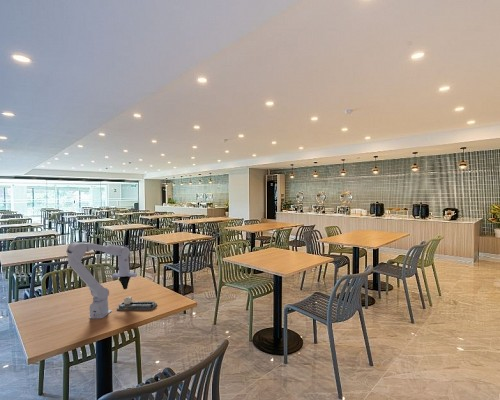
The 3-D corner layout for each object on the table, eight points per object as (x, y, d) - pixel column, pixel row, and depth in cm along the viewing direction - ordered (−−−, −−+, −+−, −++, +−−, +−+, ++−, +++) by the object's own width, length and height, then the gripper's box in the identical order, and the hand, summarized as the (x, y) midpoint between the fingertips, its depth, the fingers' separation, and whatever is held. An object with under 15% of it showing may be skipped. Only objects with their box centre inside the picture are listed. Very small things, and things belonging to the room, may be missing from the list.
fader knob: (128, 306, 163) (128, 299, 163) (124, 306, 164) (123, 299, 163) (132, 304, 167) (131, 296, 167) (127, 304, 167) (127, 296, 167)
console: (151, 310, 160) (151, 306, 160) (116, 310, 162) (116, 306, 162) (157, 305, 168) (157, 300, 168) (123, 305, 170) (123, 300, 170)
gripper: (138, 264, 172) (140, 286, 173) (116, 264, 174) (117, 286, 174) (132, 267, 165) (134, 290, 166) (109, 268, 167) (111, 290, 167)
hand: (125, 288), depth 169 cm, fingers closed
